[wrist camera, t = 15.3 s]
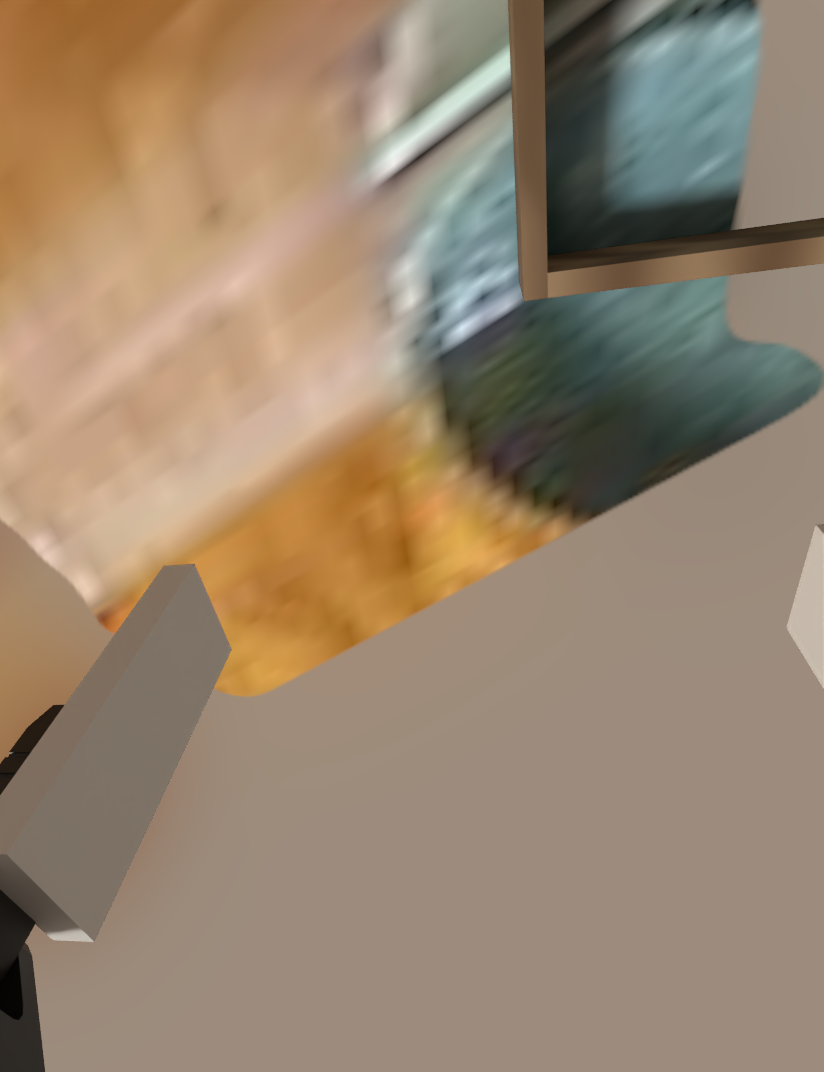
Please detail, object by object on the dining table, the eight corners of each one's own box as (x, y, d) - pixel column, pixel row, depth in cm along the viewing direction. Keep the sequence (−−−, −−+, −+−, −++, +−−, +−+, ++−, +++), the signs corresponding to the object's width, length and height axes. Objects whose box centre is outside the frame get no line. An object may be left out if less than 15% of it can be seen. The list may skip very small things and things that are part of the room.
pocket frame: (519, 282, 34) (523, 300, 30) (505, -62, 26) (510, -93, 23) (978, 222, 31) (1046, 235, 27) (1124, -199, 23) (1250, -262, 19)
